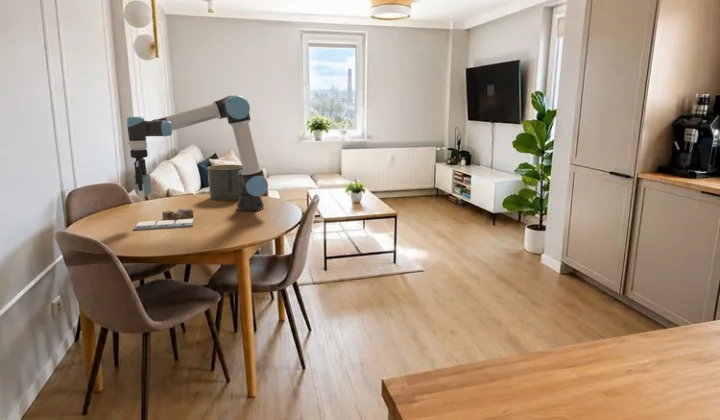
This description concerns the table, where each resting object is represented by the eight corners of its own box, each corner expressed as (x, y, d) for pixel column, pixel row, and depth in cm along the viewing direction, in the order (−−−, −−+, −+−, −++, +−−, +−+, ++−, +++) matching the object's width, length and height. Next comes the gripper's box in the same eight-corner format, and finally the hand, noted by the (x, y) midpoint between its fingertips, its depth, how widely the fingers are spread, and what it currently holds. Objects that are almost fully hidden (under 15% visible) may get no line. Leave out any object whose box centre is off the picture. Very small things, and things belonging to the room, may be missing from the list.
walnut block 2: (183, 219, 240) (182, 212, 239) (179, 221, 237) (179, 214, 236) (176, 219, 241) (175, 212, 240) (172, 221, 237) (171, 213, 236)
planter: (248, 194, 305) (246, 164, 300) (241, 201, 284) (239, 169, 279) (214, 194, 304) (212, 164, 299) (205, 201, 282) (203, 169, 278)
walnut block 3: (192, 215, 248) (191, 208, 247) (193, 217, 245) (192, 210, 244) (184, 216, 246) (183, 209, 245) (185, 218, 243) (185, 211, 242)
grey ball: (186, 214, 251) (185, 207, 250) (185, 216, 247) (184, 209, 246) (178, 214, 250) (177, 207, 249) (177, 216, 246) (176, 209, 245)
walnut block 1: (169, 217, 244) (169, 210, 243) (174, 218, 242) (173, 211, 241) (163, 219, 241) (162, 212, 240) (167, 220, 238) (166, 213, 237)
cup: (145, 197, 221) (143, 177, 219) (131, 196, 223) (129, 176, 220) (155, 194, 228) (153, 174, 226) (142, 193, 230) (140, 174, 228)
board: (194, 220, 238) (194, 218, 238) (192, 226, 227) (192, 224, 226) (138, 224, 231) (138, 221, 231) (133, 230, 220) (133, 228, 219)
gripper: (134, 147, 229) (139, 191, 234) (125, 151, 209) (130, 199, 215) (150, 146, 231) (155, 190, 236) (142, 151, 211) (147, 199, 217)
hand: (143, 195), depth 225 cm, fingers closed on cup, 8 cm apart
